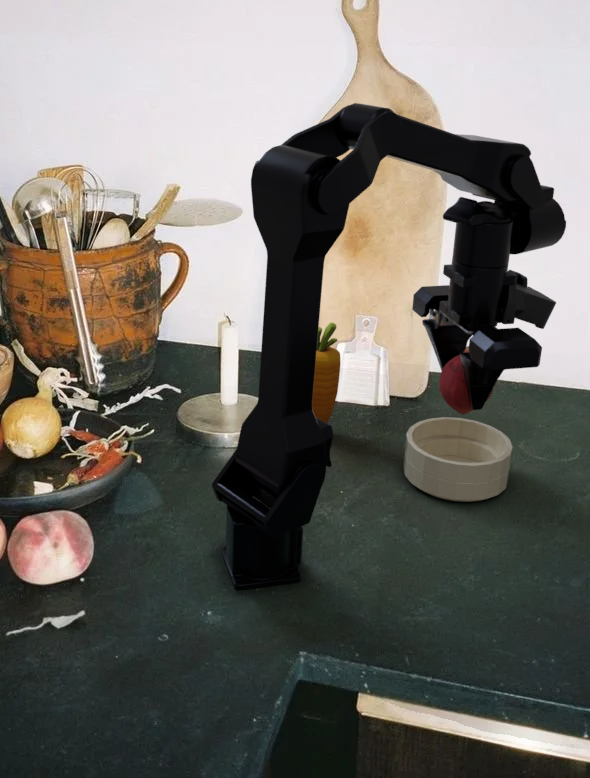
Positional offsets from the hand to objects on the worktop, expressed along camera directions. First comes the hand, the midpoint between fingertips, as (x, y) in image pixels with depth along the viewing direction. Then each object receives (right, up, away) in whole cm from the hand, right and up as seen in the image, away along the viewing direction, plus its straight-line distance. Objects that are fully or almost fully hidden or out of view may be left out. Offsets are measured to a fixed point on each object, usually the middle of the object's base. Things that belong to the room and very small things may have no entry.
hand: (463, 397), depth 103 cm
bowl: (0, -10, +4) cm, 11 cm away
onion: (0, -2, +1) cm, 2 cm away
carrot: (-15, -6, +14) cm, 21 cm away
